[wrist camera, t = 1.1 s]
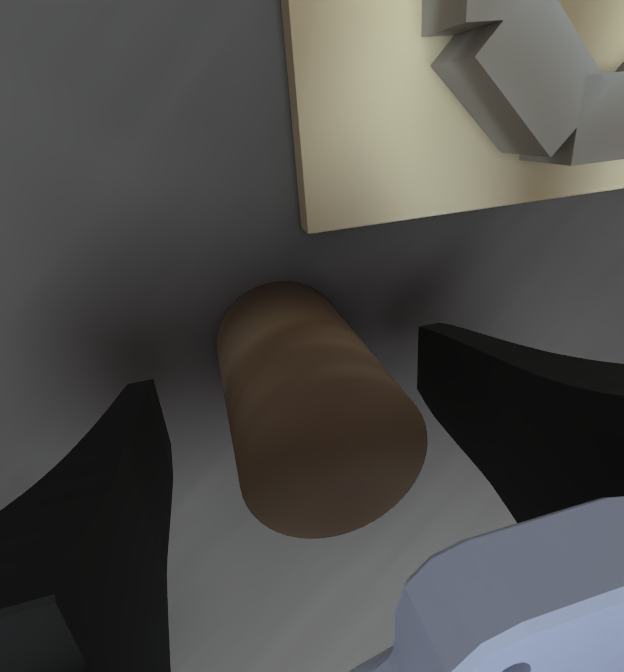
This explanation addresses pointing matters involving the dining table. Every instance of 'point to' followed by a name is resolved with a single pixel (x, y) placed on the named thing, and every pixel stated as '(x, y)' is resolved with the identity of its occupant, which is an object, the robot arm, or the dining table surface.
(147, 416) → the robot arm
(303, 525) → the walnut peg
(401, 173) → the socket board
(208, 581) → the dining table surface
